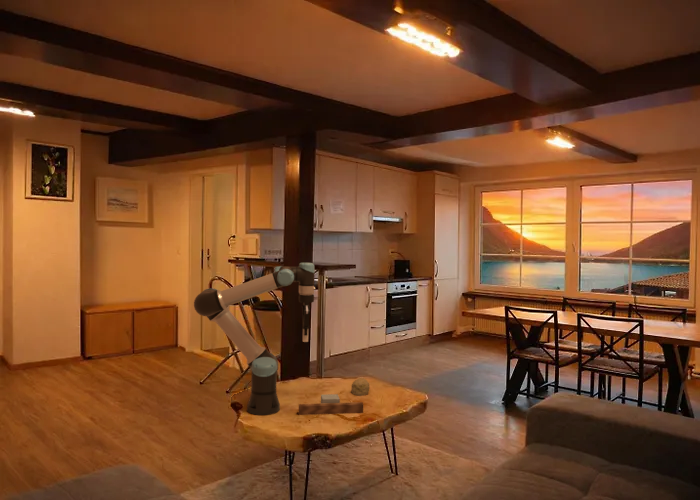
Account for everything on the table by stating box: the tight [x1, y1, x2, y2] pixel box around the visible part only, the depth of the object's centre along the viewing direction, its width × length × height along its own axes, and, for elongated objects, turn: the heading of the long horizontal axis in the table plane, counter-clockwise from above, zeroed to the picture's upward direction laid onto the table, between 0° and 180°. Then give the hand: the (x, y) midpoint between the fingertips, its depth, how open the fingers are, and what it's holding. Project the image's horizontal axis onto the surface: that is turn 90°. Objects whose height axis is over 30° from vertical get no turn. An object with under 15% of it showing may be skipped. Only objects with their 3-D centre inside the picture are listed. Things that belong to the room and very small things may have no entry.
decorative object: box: [350, 377, 370, 397], centre depth 278 cm, size 9×10×10 cm
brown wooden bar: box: [297, 401, 364, 416], centre depth 249 cm, size 30×3×4 cm, turn 100°
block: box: [320, 393, 341, 403], centre depth 254 cm, size 8×7×6 cm
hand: (305, 341), depth 264 cm, fingers closed
